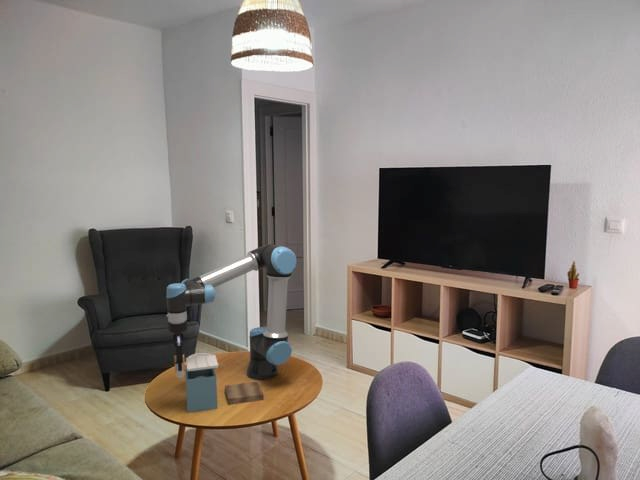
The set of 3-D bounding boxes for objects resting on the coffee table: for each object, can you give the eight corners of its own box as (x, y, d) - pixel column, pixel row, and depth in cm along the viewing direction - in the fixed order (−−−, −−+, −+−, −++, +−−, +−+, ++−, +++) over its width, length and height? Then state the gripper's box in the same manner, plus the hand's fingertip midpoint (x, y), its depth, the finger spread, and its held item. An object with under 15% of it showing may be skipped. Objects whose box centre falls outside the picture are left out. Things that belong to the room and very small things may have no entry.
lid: (215, 360, 217) (214, 347, 216) (218, 371, 205) (217, 357, 204) (174, 365, 212) (173, 351, 211) (175, 376, 200) (174, 362, 199)
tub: (214, 396, 218) (213, 365, 217) (217, 408, 207) (216, 376, 205) (186, 400, 215) (185, 369, 213) (187, 412, 204) (186, 380, 202)
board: (257, 386, 228) (257, 381, 228) (263, 399, 215) (263, 394, 215) (224, 391, 224) (224, 385, 223) (228, 404, 210) (228, 399, 210)
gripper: (167, 316, 210) (170, 369, 213) (168, 328, 194) (171, 384, 198) (186, 315, 212) (188, 367, 216) (188, 326, 197) (190, 382, 200)
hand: (180, 375), depth 207 cm, fingers closed on lid, 3 cm apart
